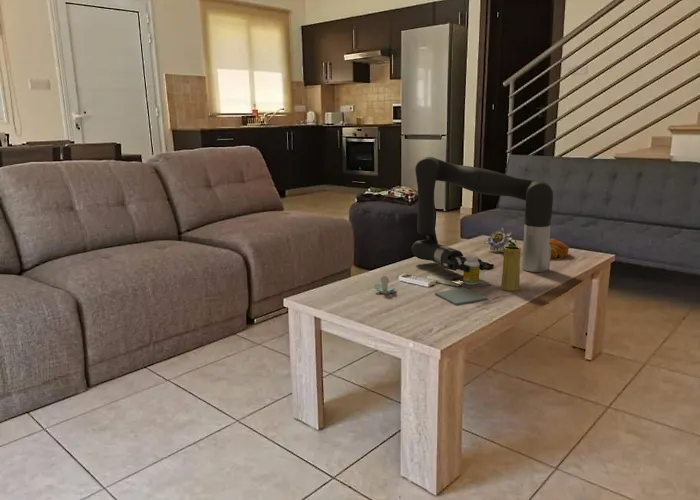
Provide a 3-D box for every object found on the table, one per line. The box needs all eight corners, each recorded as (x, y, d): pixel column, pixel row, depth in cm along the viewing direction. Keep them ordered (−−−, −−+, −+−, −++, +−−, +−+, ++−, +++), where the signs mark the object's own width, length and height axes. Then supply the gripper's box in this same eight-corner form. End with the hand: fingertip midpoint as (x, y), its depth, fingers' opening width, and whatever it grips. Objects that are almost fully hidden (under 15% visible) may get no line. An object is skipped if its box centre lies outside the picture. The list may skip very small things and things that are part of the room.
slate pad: (465, 289, 184) (465, 287, 184) (487, 299, 173) (487, 297, 173) (434, 294, 180) (434, 292, 179) (455, 305, 169) (455, 303, 169)
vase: (520, 291, 181) (522, 250, 177) (501, 290, 182) (503, 249, 179) (518, 286, 187) (520, 245, 183) (500, 285, 188) (502, 245, 184)
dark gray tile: (474, 277, 197) (474, 277, 197) (491, 285, 188) (491, 284, 188) (450, 281, 193) (450, 280, 193) (467, 289, 185) (467, 288, 184)
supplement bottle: (470, 285, 187) (470, 258, 185) (460, 281, 192) (460, 255, 190) (482, 283, 190) (483, 256, 187) (472, 279, 194) (472, 253, 192)
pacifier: (381, 288, 188) (372, 292, 183) (381, 271, 186) (372, 274, 181) (400, 291, 184) (391, 296, 179) (400, 273, 183) (392, 277, 178)
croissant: (528, 262, 226) (528, 244, 223) (536, 249, 238) (536, 232, 236) (565, 265, 219) (565, 246, 216) (571, 251, 231) (572, 234, 228)
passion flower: (495, 264, 235) (479, 241, 235) (503, 254, 244) (487, 232, 243) (516, 253, 228) (500, 229, 228) (524, 243, 236) (508, 221, 236)
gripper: (432, 250, 199) (459, 260, 184) (464, 245, 204) (493, 255, 189) (431, 269, 200) (458, 281, 185) (464, 265, 206) (492, 276, 191)
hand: (476, 268), depth 187 cm, fingers closed on supplement bottle, 5 cm apart
